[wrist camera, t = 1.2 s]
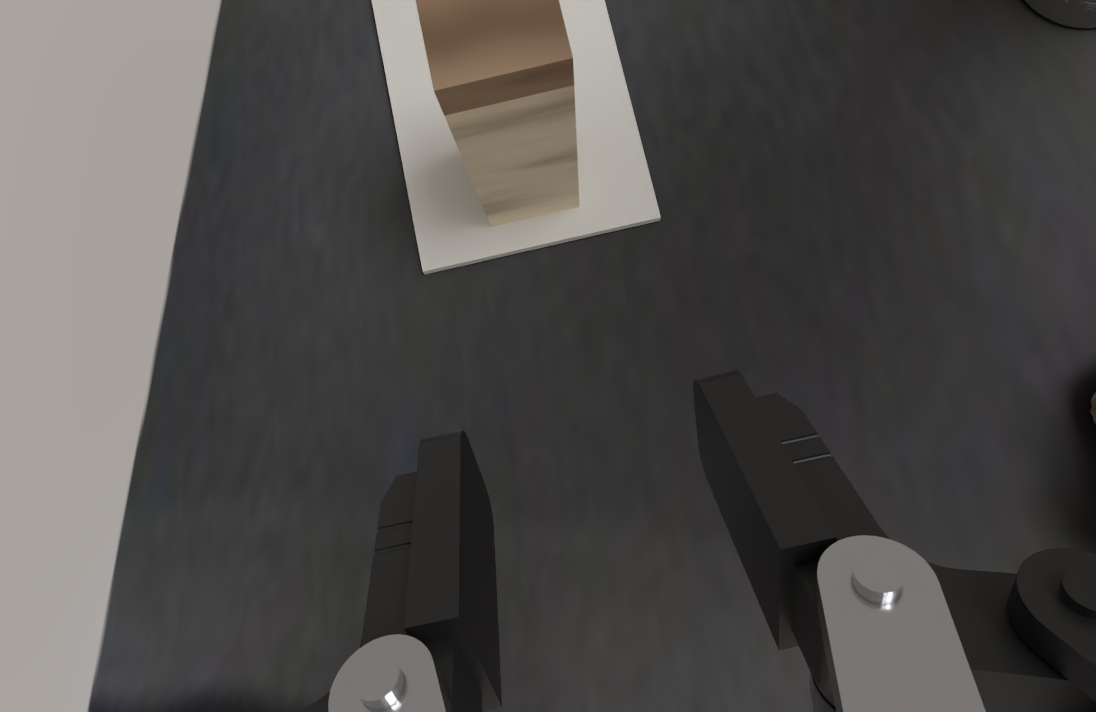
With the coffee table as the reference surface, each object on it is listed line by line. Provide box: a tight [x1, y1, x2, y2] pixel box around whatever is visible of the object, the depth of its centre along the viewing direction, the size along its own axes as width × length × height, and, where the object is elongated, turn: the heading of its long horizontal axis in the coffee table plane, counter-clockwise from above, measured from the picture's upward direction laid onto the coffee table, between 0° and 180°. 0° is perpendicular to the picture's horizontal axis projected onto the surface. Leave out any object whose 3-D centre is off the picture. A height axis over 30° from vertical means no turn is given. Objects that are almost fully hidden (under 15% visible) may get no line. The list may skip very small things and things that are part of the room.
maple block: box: [416, 0, 580, 227], centre depth 36 cm, size 6×6×16 cm
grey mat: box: [372, 0, 661, 274], centre depth 45 cm, size 24×16×1 cm, turn 12°
